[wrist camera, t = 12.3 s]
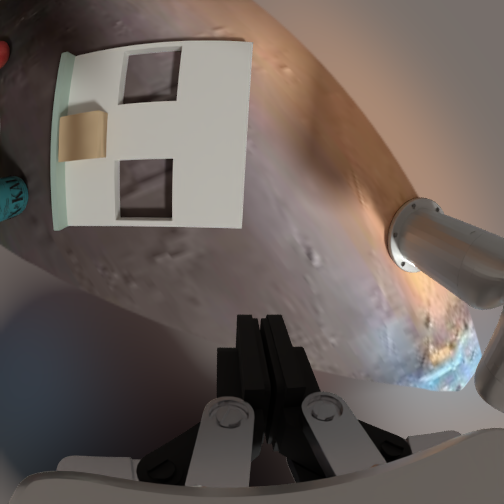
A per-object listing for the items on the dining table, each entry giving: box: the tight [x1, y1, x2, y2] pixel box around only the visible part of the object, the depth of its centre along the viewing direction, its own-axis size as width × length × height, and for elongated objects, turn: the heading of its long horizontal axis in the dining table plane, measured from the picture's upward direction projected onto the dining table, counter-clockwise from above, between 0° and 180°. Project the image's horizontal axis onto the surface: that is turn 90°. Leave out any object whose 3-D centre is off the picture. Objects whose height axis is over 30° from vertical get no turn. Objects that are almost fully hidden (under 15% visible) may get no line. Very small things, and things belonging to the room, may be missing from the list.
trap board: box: [50, 41, 253, 230], centre depth 32 cm, size 26×25×4 cm
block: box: [58, 110, 108, 162], centre depth 30 cm, size 6×6×3 cm
